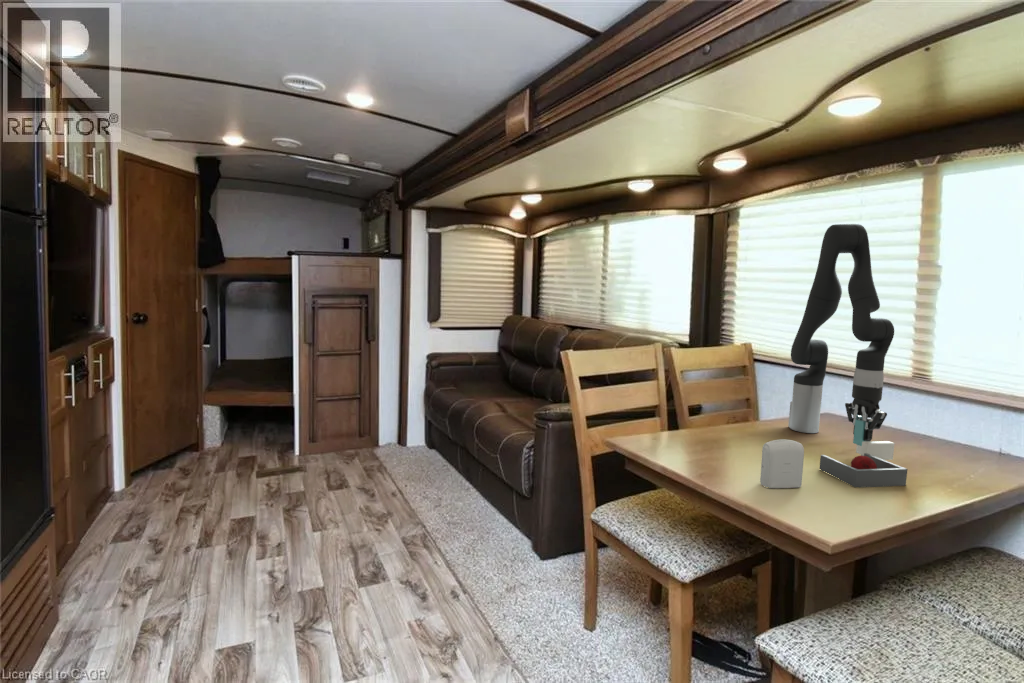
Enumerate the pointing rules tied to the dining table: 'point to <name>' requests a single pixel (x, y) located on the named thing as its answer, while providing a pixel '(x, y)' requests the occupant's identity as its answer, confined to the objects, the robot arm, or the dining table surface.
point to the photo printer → (782, 464)
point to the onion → (863, 463)
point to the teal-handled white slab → (871, 443)
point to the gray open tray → (866, 472)
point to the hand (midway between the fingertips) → (862, 439)
